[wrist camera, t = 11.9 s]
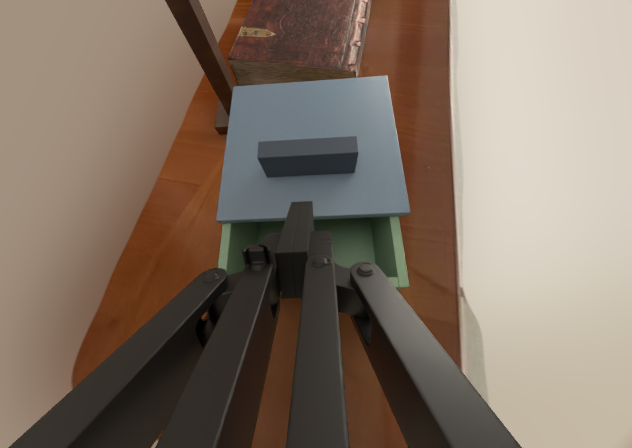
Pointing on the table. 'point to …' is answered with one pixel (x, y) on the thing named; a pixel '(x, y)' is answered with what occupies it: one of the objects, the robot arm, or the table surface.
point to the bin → (347, 242)
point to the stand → (206, 54)
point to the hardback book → (300, 41)
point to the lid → (312, 151)
